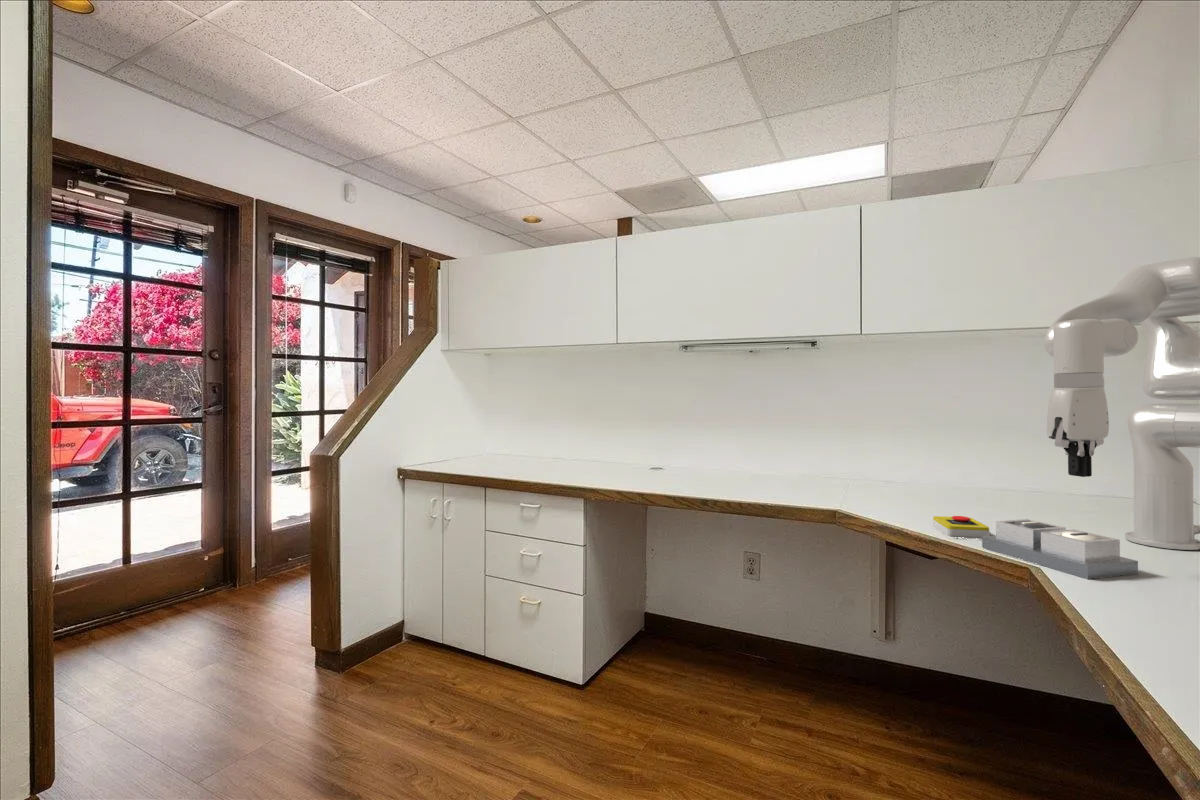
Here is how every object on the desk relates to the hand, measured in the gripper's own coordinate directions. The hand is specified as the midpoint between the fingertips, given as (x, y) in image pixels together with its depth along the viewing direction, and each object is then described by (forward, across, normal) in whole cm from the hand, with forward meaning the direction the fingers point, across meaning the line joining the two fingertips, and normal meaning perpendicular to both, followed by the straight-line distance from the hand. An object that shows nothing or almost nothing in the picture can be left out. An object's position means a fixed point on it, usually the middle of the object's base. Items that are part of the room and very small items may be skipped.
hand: (1079, 475), depth 110 cm
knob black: (+18, +1, -10) cm, 20 cm away
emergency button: (+19, -1, -29) cm, 35 cm away
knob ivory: (+18, +1, 0) cm, 18 cm away
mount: (+18, +1, -5) cm, 19 cm away
